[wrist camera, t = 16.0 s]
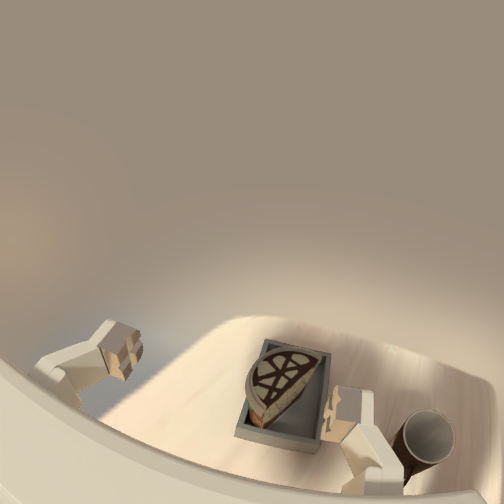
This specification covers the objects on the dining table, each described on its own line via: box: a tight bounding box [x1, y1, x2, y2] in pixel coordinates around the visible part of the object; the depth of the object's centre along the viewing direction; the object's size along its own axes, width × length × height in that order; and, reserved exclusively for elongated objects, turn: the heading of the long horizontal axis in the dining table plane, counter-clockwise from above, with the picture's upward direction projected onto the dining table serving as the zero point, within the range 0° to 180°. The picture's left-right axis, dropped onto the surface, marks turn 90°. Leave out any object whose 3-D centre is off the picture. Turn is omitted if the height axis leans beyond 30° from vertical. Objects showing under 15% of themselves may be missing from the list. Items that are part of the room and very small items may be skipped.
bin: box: [234, 339, 331, 454], centre depth 43 cm, size 12×18×4 cm, turn 165°
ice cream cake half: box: [245, 347, 322, 430], centre depth 39 cm, size 12×6×10 cm, turn 136°
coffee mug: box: [389, 409, 455, 488], centre depth 30 cm, size 12×9×10 cm
